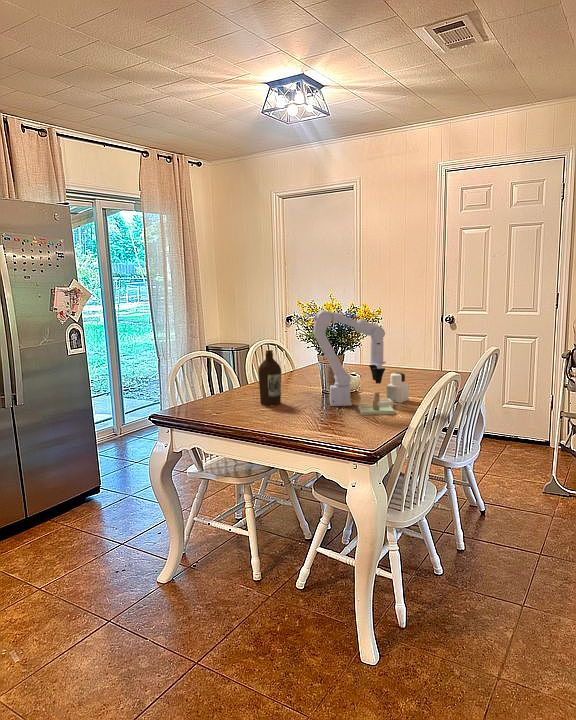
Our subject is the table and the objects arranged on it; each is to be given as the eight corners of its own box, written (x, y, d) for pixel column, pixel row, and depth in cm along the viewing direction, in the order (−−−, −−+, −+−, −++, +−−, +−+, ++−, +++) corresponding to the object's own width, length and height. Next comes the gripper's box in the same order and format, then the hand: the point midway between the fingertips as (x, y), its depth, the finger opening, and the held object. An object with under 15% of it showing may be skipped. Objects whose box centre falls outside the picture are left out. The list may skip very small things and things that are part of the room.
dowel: (373, 410, 230) (373, 393, 229) (372, 408, 233) (372, 392, 232) (379, 410, 230) (379, 393, 229) (379, 408, 233) (379, 391, 232)
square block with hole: (377, 408, 237) (377, 402, 237) (375, 404, 244) (375, 398, 243) (392, 407, 237) (392, 401, 237) (389, 404, 244) (389, 398, 243)
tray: (361, 414, 227) (361, 411, 226) (358, 409, 237) (358, 406, 236) (394, 414, 227) (394, 410, 227) (390, 408, 237) (390, 405, 236)
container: (393, 398, 256) (393, 371, 254) (408, 400, 252) (409, 372, 250) (386, 401, 250) (386, 373, 248) (401, 403, 246) (401, 375, 244)
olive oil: (255, 403, 252) (253, 350, 248) (274, 399, 258) (272, 348, 254) (266, 407, 243) (265, 352, 239) (286, 404, 249) (285, 350, 245)
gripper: (388, 354, 237) (388, 384, 239) (382, 349, 251) (382, 378, 253) (372, 354, 237) (372, 384, 239) (367, 350, 251) (367, 378, 253)
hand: (376, 381), depth 246 cm, fingers open, 7 cm apart
